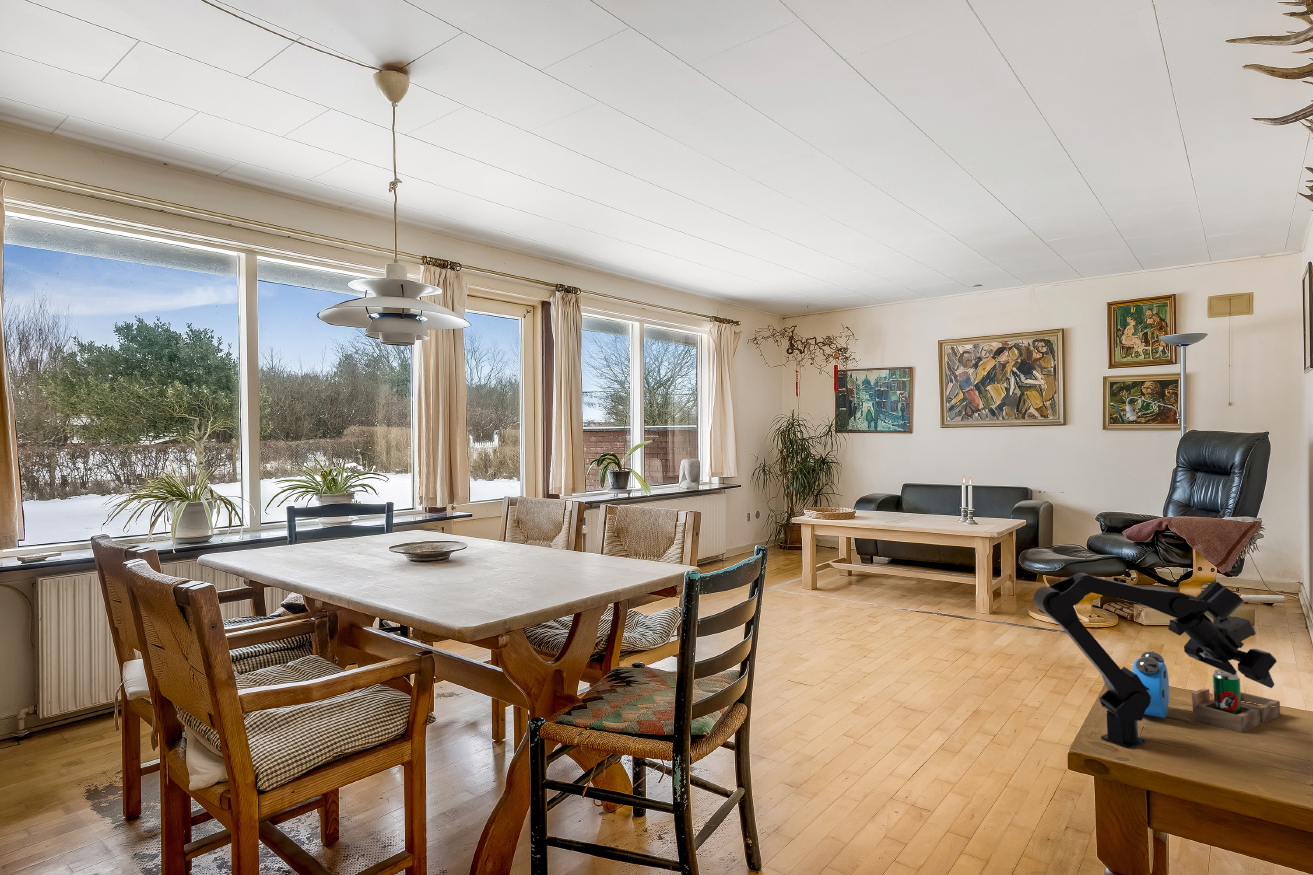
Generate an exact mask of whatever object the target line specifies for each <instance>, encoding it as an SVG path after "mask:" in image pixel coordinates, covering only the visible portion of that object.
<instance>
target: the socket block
mask: <svg viewBox="0 0 1313 875" xmlns="http://www.w3.org/2000/svg"><path fill="white" fill-rule="evenodd" d="M1212 691H1213V693H1212V694H1213V696H1214V689H1213V688H1212ZM1210 696H1211V694H1210V688H1207V687H1204V688H1203V687H1202V688H1201V689H1197V690H1195V691H1192V692H1191V700H1192V701H1191V702H1192V717H1193V718H1196V721H1197V722H1200V723H1201V722H1202V723H1205V724H1210V725H1212V726H1216V727H1220V728H1223V729H1225V730H1226V729H1227V730H1231V731H1235V732H1237V733H1244V732H1247V731H1248V730H1251V729H1254V728H1256V727H1258V726H1260V725H1261V724H1265V723H1267V722H1270V721H1272V720H1274V719H1277V718H1278V717H1281V703H1280V702H1281V701H1279V700H1276V699H1270V698H1267V697H1263V696H1258V695H1255V694H1250V693H1247V692H1242V691H1241V701H1245V702H1241V706H1242V713H1240V714H1238V715H1236V714H1232V713H1228V712H1225V711H1221V710H1217V709H1215V706H1214V698H1213V699H1211V697H1210ZM1246 702H1251V703H1246ZM1254 703H1256V704H1254ZM1257 704H1262V705H1257ZM1271 706H1275V707H1271ZM1276 717H1277V718H1276Z"/></svg>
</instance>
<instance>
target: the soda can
mask: <svg viewBox="0 0 1313 875" xmlns="http://www.w3.org/2000/svg"><path fill="white" fill-rule="evenodd" d="M1213 689H1214V695H1213V699H1214V706H1215V709H1217V710H1221V711H1225V712H1228V713H1232V714H1236V715H1238V714H1240V713H1242V706H1241V692H1242V691H1241V690H1242V689H1241V679H1240V677H1239V676H1238V672H1237V673H1236V674H1235V675H1232V674H1230V673H1227V672H1225V671H1223V670H1220V669H1215V670H1214V671H1213V674H1212V690H1213Z"/></svg>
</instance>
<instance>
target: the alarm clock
mask: <svg viewBox="0 0 1313 875" xmlns="http://www.w3.org/2000/svg"><path fill="white" fill-rule="evenodd" d="M1131 671H1132V672H1133V673H1135V674H1137V676H1138V677H1139V678H1140V680H1141V682H1142V683H1143V684H1144V685H1145V686H1146V687H1148V688H1149V689H1150V690H1147V691H1148V693H1149V694H1150V696H1151V702H1150V705H1149V707H1148V708H1147V709H1146V710H1145V713H1144V716H1145V715H1146V716H1151V717H1156V718H1157V717H1158V718H1163V719H1164V718H1166V717H1167V715H1168V712H1169V702H1170V701H1169V700H1170V684H1169V682H1170V680H1169V675H1168V674H1169V672H1168V668H1167V665H1166V664H1165V659H1164V657H1163V656H1162V655H1161V654H1160V653H1158V652H1155V651H1154V650H1151V651H1150V650H1149V651H1145V652H1144V651H1143V653H1141V655H1140V658H1138V659H1135V660H1134V662H1133V666H1132V670H1131Z"/></svg>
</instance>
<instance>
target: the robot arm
mask: <svg viewBox="0 0 1313 875" xmlns="http://www.w3.org/2000/svg"><path fill="white" fill-rule="evenodd" d="M1091 593H1092V594H1097V595H1101V596H1105V597H1108V598H1114V599H1118V600H1123V601H1127V602H1130V603H1135V604H1139V605H1143V606H1146V607H1148V608H1150V609H1153V610H1156V611H1158V612H1160V613H1162V614H1165V615H1168V616H1169V617H1173V618H1174V619H1169V624H1168V627H1167V628H1168V629H1167V630H1168V631H1170V632H1172V633H1174V634H1176V635H1177V636H1181V635H1183V634H1184V633H1185V634H1186V635H1187V636H1188V637H1189V638H1190V639H1189V640H1188V641H1187V642H1186V643H1185V644H1184V645H1183V649H1184V650H1183V652H1184V653H1185V654H1186V655H1187V656H1188V657H1189V658H1192V659H1195V660H1196V661H1198V662H1201V663H1203V664H1206V665H1209V666H1211V667H1214V668H1216V669H1217V670H1223V671H1225V672H1227V673H1230V674H1232V675H1235V674H1236V673H1237V674H1238V672H1239V673H1240V674H1242V675H1243V676H1244V677H1245V678H1247V679H1248V680H1251V681H1254V682H1256V683H1259V684H1260V685H1263V686H1265V687H1268V689H1273V688H1274V686H1275V683H1274V680H1273V678H1272V675H1271V673H1270V670H1271V669H1272V668H1273V667H1274V666H1275V664H1277V662H1278V661H1277V659H1276V657H1275V656H1274V655H1273V654H1271V652H1269V651H1264V650H1262V649H1257V648H1250V649H1249V650H1248V651H1243V650H1240V649H1241V648H1242V647H1243V646H1244V645H1245V644H1244V643H1243V642H1242V641H1245V640H1247V639H1249V638H1250V637H1251V636H1252V637H1253V636H1255V635H1257V632H1256V631H1255V628H1254V626H1253V625H1252V622H1251V620H1249V619H1246V618H1243V617H1239V616H1230V615H1231V614H1233V612H1235V611H1236V610H1237V609H1238V608H1239V607H1240V606H1241V605H1242V604H1243V603H1244V602H1245V601H1244V599H1243V598H1242V597H1241V596H1240V595H1239V594H1238V593H1236V592H1234V591H1232V590H1231V589H1229V588H1227V587H1226V586H1224V585H1223V584H1221V583H1220V582H1219V581H1215V580H1212V581H1210V583H1209V584H1207V586H1206V587H1205V588H1204V589H1203V590H1202V591H1201V592H1200V593H1199V594H1198V595H1197V596H1194V595H1190V594H1185V593H1183V592H1180V591H1178V590H1174V589H1172V588H1169V587H1164V586H1163V587H1162V586H1138V585H1134V584H1129V583H1125V582H1121V581H1116V580H1111V579H1107V578H1103V577H1098V576H1094V575H1090V574H1087V573H1085V572H1077V573H1075V574H1073V575H1071V576H1069V577H1068V578H1065V579H1062V580H1059V581H1056V582H1054V583H1052V584H1051V585H1048V586H1041V587H1039V588H1038V589H1037V590H1036V591H1035V593H1034V595H1033V603H1034V605H1035V606H1036V607H1037V608H1038V609H1039V610H1041V612H1043V614H1045V615H1046V616H1047V617H1048V618H1050V619H1051V620H1052V621H1053V622H1055V623H1056V624H1058V625H1059V626H1060V627H1061V628H1062V629H1063V631H1064V632H1065V633H1066V634H1067V635H1068V636H1069V638H1070V639H1071V640H1072V641H1073V643H1075V644H1076V646H1077V647H1078V649H1079V650H1080V651H1081V652H1082V653H1083V654H1084V656H1085V657H1086V658H1087V660H1089V661H1090V663H1091V664H1092V665H1093V666H1094V667H1095V669H1096V670H1097V672H1099V674H1101V676H1102V679H1103V682H1104V684H1105V685H1104V686H1106V688H1107V690H1106V691H1105V692H1104V693H1103V694H1102V695H1100V697H1099V698H1098V699H1099V702H1100V705H1101V706H1102V707H1103V708H1104V709H1106V728H1107V729H1106V732H1107V733H1106V734H1103V735H1101V736H1100V739H1101V740H1104V741H1106V742H1110V743H1112V744H1116V745H1119V746H1122V747H1125V748H1129V749H1132V748H1135V747H1136V746H1139V745H1141V744H1145V743H1146V739H1143V738H1141V737H1139V730H1138V729H1139V728H1138V727H1139V726H1138V721H1139V722H1141V721H1143V719H1144V716H1145V714H1144V713H1145V710H1146V709H1147V708H1148V707H1149V705H1150V702H1151V696H1150V694H1149V693H1148V691H1147V690H1150V689H1149V688H1148V687H1146V686H1145V685H1144V684H1143V683H1142V682H1141V680H1140V678H1139V677H1138V676H1137V674H1135V673H1133V672H1132V671H1133V670H1131V669H1128V668H1127V667H1126V666H1123V667H1122V668H1120V667H1119V665H1118V664H1117V663H1116V662H1115V661H1114V660H1113V658H1112V657H1111V656H1110V655H1109V653H1108V652H1107V651H1106V650H1105V649H1104V648H1103V647H1102V645H1101V644H1100V643H1099V641H1098V640H1096V638H1095V637H1094V636H1093V635H1092V634H1091V632H1090V631H1089V630H1088V629H1087V628H1086V626H1085V625H1084V624H1083V623H1082V622H1081V620H1080V619H1079V615H1078V613H1077V611H1076V609H1075V607H1074V606H1076V605H1078V604H1079V603H1081V601H1082V600H1083V599H1084V598H1086V597H1087V596H1088V595H1090V594H1091ZM1210 618H1211V619H1210ZM1212 619H1213V620H1212ZM1232 660H1233V661H1236V662H1237V670H1236V669H1235V667H1234V666H1233V664H1232V663H1231V662H1230V661H1232Z"/></svg>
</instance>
